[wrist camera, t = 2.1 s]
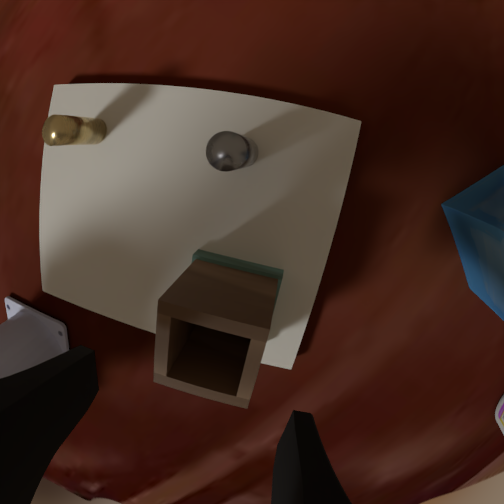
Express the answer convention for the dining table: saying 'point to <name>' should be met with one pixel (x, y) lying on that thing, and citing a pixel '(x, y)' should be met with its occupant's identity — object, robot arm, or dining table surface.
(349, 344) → the dining table surface
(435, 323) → the dining table surface
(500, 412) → the supplement bottle
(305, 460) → the robot arm
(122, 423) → the dining table surface
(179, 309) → the walnut sleeve
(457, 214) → the perfume bottle
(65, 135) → the brass pin
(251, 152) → the steel pin
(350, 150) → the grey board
